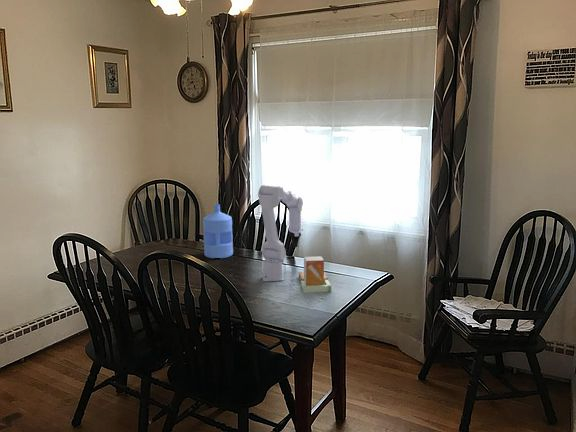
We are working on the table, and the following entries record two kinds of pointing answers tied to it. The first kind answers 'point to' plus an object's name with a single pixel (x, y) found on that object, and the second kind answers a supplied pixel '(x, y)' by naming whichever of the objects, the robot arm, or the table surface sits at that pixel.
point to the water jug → (218, 234)
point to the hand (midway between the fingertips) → (295, 246)
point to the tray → (316, 287)
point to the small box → (314, 271)
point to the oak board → (301, 276)
